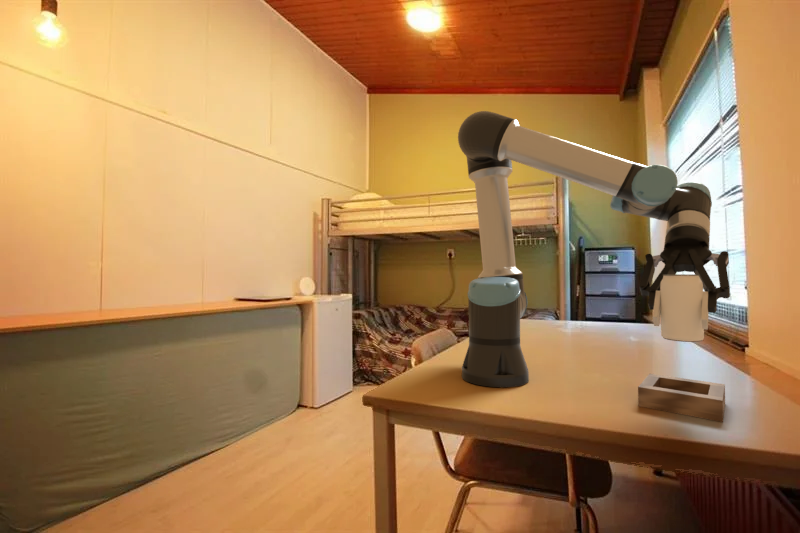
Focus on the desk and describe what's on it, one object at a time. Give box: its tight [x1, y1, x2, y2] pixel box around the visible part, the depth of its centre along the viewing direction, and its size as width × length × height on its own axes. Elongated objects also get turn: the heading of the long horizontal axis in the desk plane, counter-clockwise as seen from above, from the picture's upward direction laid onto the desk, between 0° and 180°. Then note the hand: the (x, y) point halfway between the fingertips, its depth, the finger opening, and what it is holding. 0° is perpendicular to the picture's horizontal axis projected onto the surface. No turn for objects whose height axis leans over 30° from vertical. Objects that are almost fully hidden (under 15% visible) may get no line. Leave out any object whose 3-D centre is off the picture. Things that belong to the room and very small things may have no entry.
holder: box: [637, 373, 726, 423], centre depth 72 cm, size 12×12×4 cm
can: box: [660, 273, 705, 343], centre depth 72 cm, size 6×6×12 cm
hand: (679, 322), depth 70 cm, fingers closed on can, 6 cm apart
